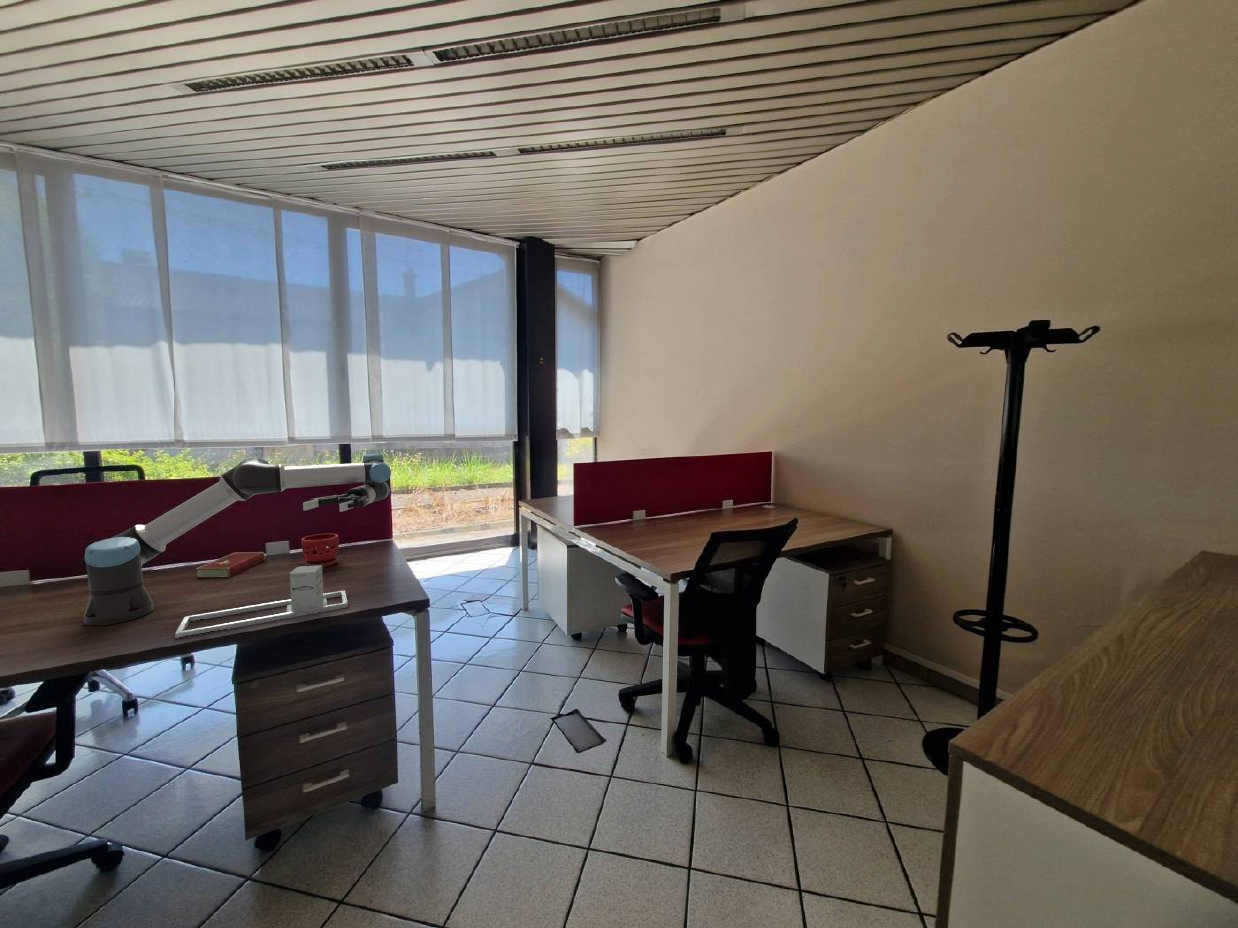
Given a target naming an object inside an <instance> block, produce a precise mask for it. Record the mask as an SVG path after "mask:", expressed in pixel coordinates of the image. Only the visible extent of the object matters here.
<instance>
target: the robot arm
mask: <svg viewBox="0 0 1238 928" xmlns="http://www.w3.org/2000/svg"><path fill="white" fill-rule="evenodd" d="M362 457H363V458H362V462H356V463H354V462H353V463H337V464H322V465H321V464H318V465H299V466H283V465H282V464H280V463H279V464H270V463H269V462H267V461H266V460H264V459H261V458H258V457H257V458H255V457H253V458H246V459H244V460H242V461H241V462H239V463H238V464H237V465H236V466H234V467H231V469H229V470H227V471H226V472H224V473H223V474H220V477H219V481H217V482H216V483H214V484H213V485H211V486H209V487H208V488H206V489H204V490H203V491H201V492H198V493H197V494H196V495H195V496H192V497H190V498H189V499H187V500H185V501H184V502H183V503H181V504H179V505H178V506H175V507H174V508H173V509H170V510H169V511H167V512H165V513H163V514H162V515H160V516H158V517H157V518H155V519H154V520H152V521H150V522H148V523H147V524H136V525H134V526H132V527H130V528H128V529H127V530H125V531H124V532H121V533H119V534H116V535H114V536H112V537H110V538H105V539H101V540H99V541H95V542H93V543H91V544H89V545H88V546H86V548H85V550H84V551H85V552H84V562H85V566H86V576H87V585H88V591H89V598H88V601H87V604H86V608H85V611H84V614H83V623H84V625H87V626H93V627H97V626H98V627H99V626H100V627H101V626H108V625H116V624H120V623H125V622H128V621H132V620H136V619H139V618H141V617H144V616H146V615H148V614H150V613H151V612H153V611H154V602H153V599H152V598H151V597H150V595H149V593H148V592H147V589H146V588H145V586H144V577H143V565H145V564H146V563H147V562H150V561H151V560H152V559H154V558H155V557H157V556H158V555H160V554H162V553H163V552H165V551H166V547H167V544H169V543H171V542H172V541H174V540H176V539H178V537H180V536H182V535H184V534H186V533H187V532H188V531H191V530H192V529H194V528H195V527H196V526H198V525H199V524H201V523H203V522H205V521H206V520H208V519H209V518H212V516H214V515H216V514H218V513H219V512H221V511H223V510H224V509H226V508H228V507H229V506H231V505H232V504H233V503H235V502H237V501H242V502H243V501H244V502H246V501H247V500H249V499H251V498H252V497H253V496H255V495H262V494H263V495H265V494H268V493H270V494H271V493H279V492H280V493H282V492H283V491H285V490H286V489H293V488H296V489H297V488H307V487H321V486H333V485H348V484H358V483H360V484H361V483H363V485H360V486H357V487H353V488H350V489H348V490H347V491H346V493H345V494H344V493H343V494H340V495H338V494H334V495H327V496H321V497H316V498H315V497H314V498H311V499H310V500H308V501H304V502H302V508H303V509H302V510H303V511H309V510H312V509H317V508H319V507H320V506H331V505H336V506H339V512H341V513H342V512H345V511H348V510H352V509H354V508H355V509H357V508H364V507H366V506H367V505H369V504H371V503H375V502H380V501H382V500H385V499H386V498H387V497H388V496H389V494H390V493H391V489H390V488H391V487H390V486H389V484H388V483H387V481H388V480H390V478H391V476H392V470H391V468H390V466H389V465H388V464H387V463H385V461H384V455H383V454H381V453H371V454H370V453H369V454H364V455H363V456H362Z"/></svg>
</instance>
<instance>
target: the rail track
mask: <svg viewBox="0 0 1238 928" xmlns="http://www.w3.org/2000/svg"><path fill="white" fill-rule="evenodd" d="M338 597H341V600H342V601H341V603H340V602H339V603H334V604H327V606H322V607H316V608H310V609H305V610H299V611H293V612H288V613H286V612H283V613H277V614H272V615H266V616H262V617H261V616H260V617H255V618H249V619H245V620H237V621H232V622H227V623H221V624H220V623H219V624H216V625H215V624H214V625H210V626H204V627H197V628H193V629H192V628H191V629H187V628H188V626H189V624H190V621H192V622H197V620H198V621H201V620H200V619H204V620H208V619H209V620H210V619H214V618H219V617H227V616H232V615H238V614H242V613H243V614H245V613H250V612H254V611H261V610H267V609H274V608H278V607H285V606H286V607H287V605H288V604H291V598H290V599H284V600H279V601H270V602H265V603H260V604H253V605H247V606H243V607H237V608H236V607H235V608H230V609H223V610H218V611H212V612H205V613H199V614H192V615H188V616H184V618H183V619H182V621H181V622H180V625H179V626H178V628H177V630H176V632H175V633H174V637H175V638H177V639H180V638H179V637H183V636H185V635H192V634H198V633H204V632H210V631H216V632H218V631H217V630H221V631H224V630H223V629H227V630H231V628H232V629H237V627H238V628H242V627H247V626H253V625H259V624H263V623H271V622H275V620H276V621H281V620H286V619H292V618H297V617H303V616H308V614H309V615H313V613H314V614H319V613H318V612H320V613H324V612H330V611H336V610H340V609H341V610H342V609H347V608H348V605H349V603H348V598H347V594H346V590H345V589H343V590H339V591H333V592H331V591H330V592H326V593H323V598H326V600H327V599H331V598H338ZM346 607H347V608H346ZM280 619H281V620H280ZM186 627H187V628H186ZM185 629H186V630H185ZM210 633H211V632H210ZM183 638H184V637H183Z"/></svg>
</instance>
